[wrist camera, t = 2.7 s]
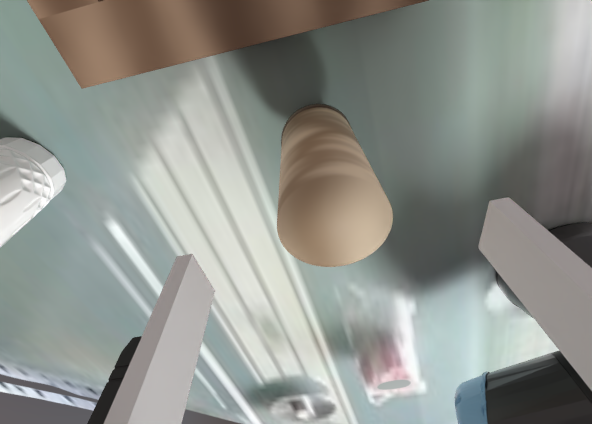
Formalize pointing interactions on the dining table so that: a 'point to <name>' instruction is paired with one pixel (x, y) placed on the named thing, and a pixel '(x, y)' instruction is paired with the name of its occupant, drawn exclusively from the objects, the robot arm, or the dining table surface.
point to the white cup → (25, 183)
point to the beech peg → (328, 191)
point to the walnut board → (179, 29)
